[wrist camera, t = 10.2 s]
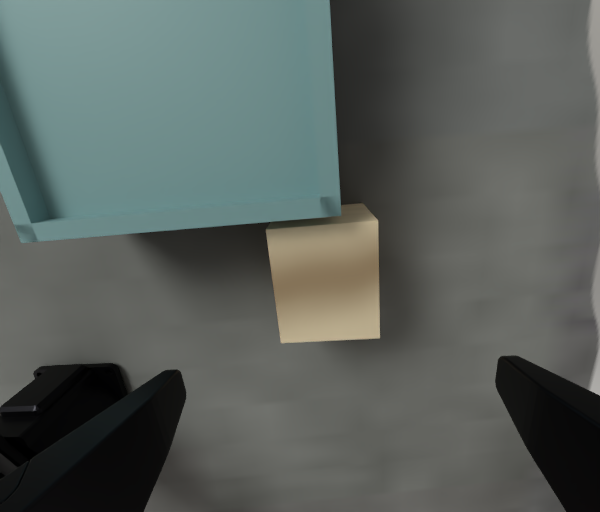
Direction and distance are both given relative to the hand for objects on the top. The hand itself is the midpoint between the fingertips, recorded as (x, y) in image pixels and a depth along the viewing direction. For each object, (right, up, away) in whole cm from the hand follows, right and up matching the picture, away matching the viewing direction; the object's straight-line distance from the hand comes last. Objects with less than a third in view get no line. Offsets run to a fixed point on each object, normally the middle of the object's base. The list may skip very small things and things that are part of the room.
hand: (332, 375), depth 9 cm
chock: (+1, +4, +11) cm, 11 cm away
